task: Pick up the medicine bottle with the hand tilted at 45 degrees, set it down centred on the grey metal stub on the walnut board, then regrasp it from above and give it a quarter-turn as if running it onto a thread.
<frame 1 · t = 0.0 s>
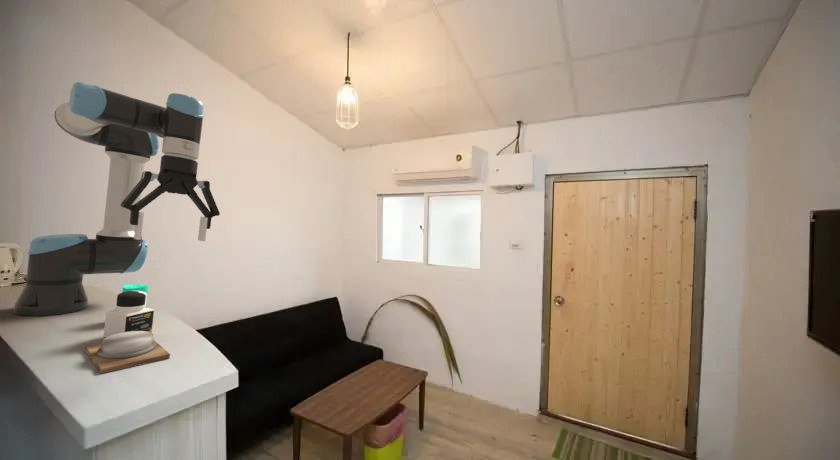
hand: (171, 240, 81), 28 cm above the worktop, tool pointing down, fingers open, 13 cm apart
candle: (132, 320, 98), on the worktop
stub board: (127, 353, 77), on the worktop
medicine bottle: (128, 336, 87), on the worktop
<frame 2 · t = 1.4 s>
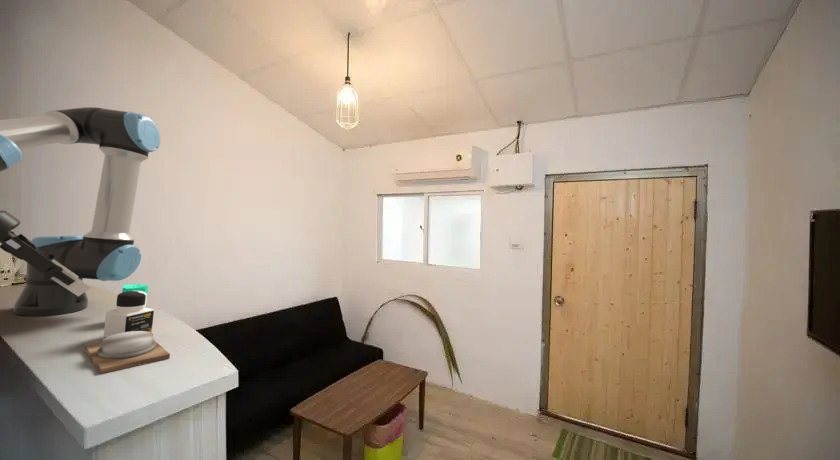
hand: (78, 285, 78), 15 cm above the worktop, tool tilted 45°, fingers open, 13 cm apart
nothing on the worktop moved.
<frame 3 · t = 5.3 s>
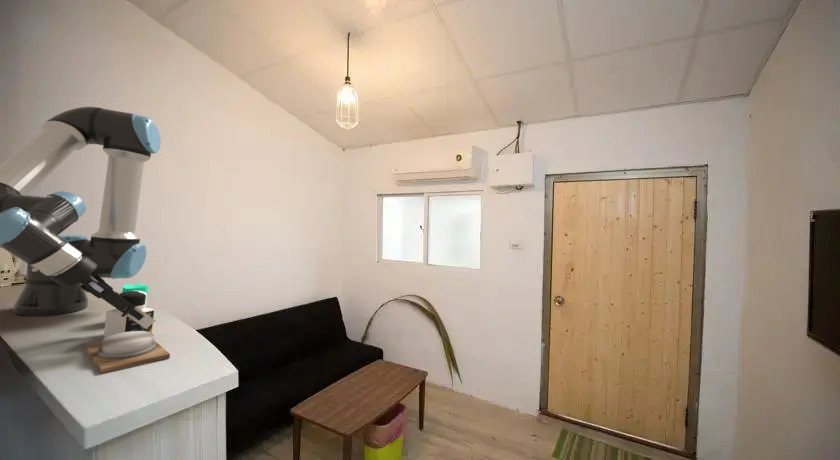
hand: (144, 319, 89), 4 cm above the worktop, tool tilted 45°, fingers closed on medicine bottle, 9 cm apart
medicine bottle: (128, 336, 87), on the worktop, touching gripper
everything else where it was.
when the fingers open (9 cm above the worktop, at t = 9.1 s): medicine bottle drops 1 cm, resting on stub board.
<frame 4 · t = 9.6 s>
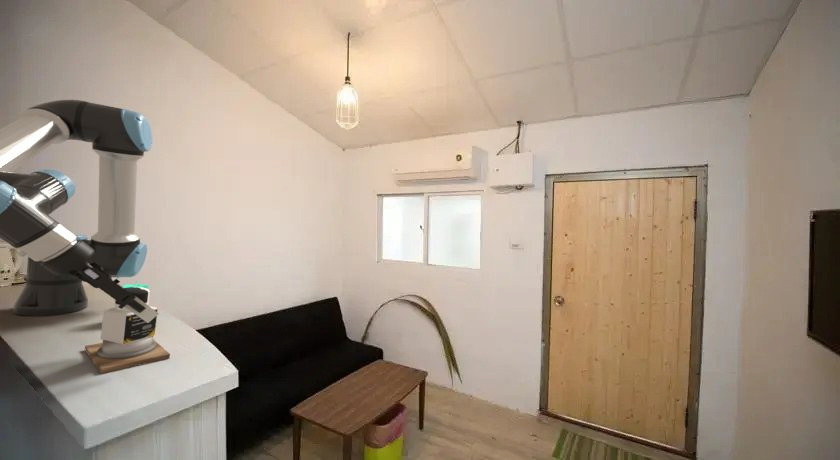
hand: (144, 310, 78), 10 cm above the worktop, tool tilted 45°, fingers open, 13 cm apart
medicine bottle: (128, 338, 76), point 4 cm above the worktop, touching stub board
everything else where it was.
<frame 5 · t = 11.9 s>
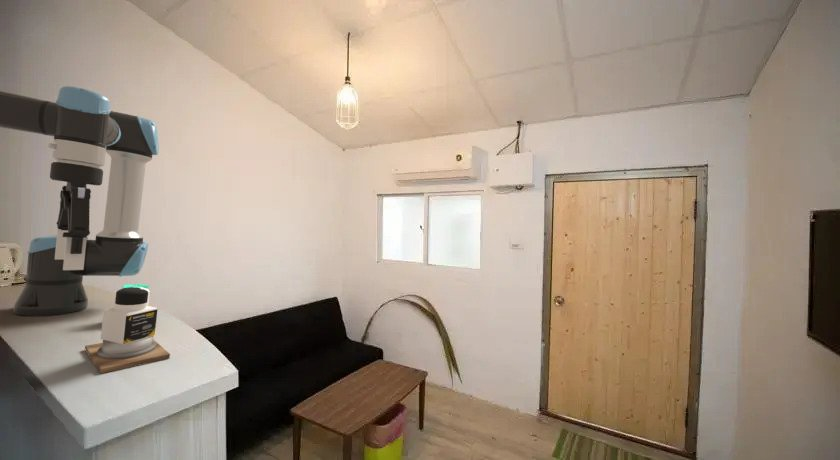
hand: (68, 264, 67), 22 cm above the worktop, tool pointing down, fingers open, 13 cm apart
nothing on the worktop moved.
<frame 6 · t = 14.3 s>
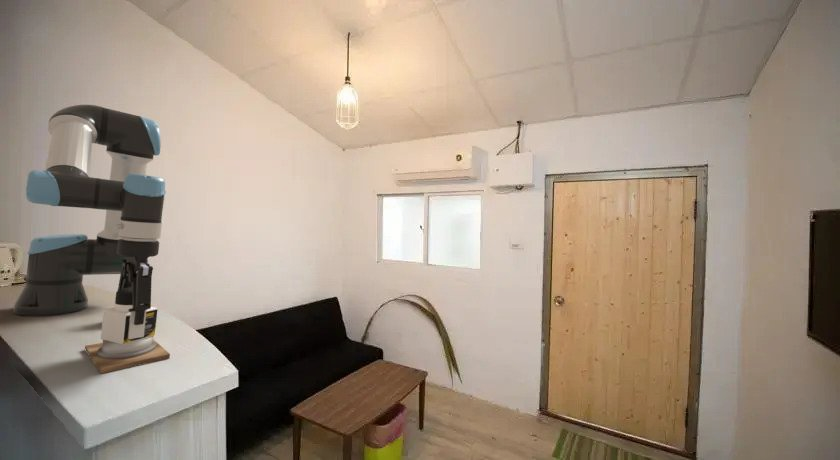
hand: (129, 331, 77), 5 cm above the worktop, tool pointing down, fingers closed on medicine bottle, 9 cm apart
medicine bottle: (128, 338, 76), point 4 cm above the worktop, touching gripper, stub board
everything else where it was.
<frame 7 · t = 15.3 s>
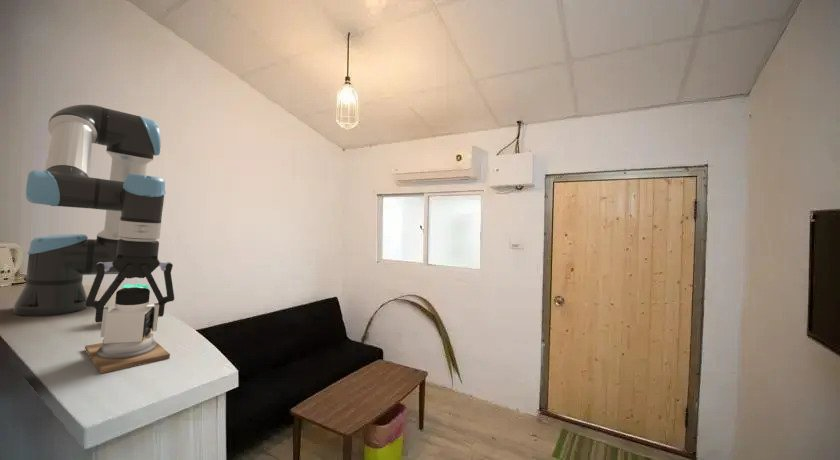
hand: (129, 332, 77), 5 cm above the worktop, tool pointing down, fingers closed on medicine bottle, 8 cm apart
medicine bottle: (128, 338, 77), point 4 cm above the worktop, touching gripper, stub board
everything else where it was.
when the fingers open (5 cm above the worktop, at t = 15.5 s): medicine bottle stays where it is, resting on stub board.
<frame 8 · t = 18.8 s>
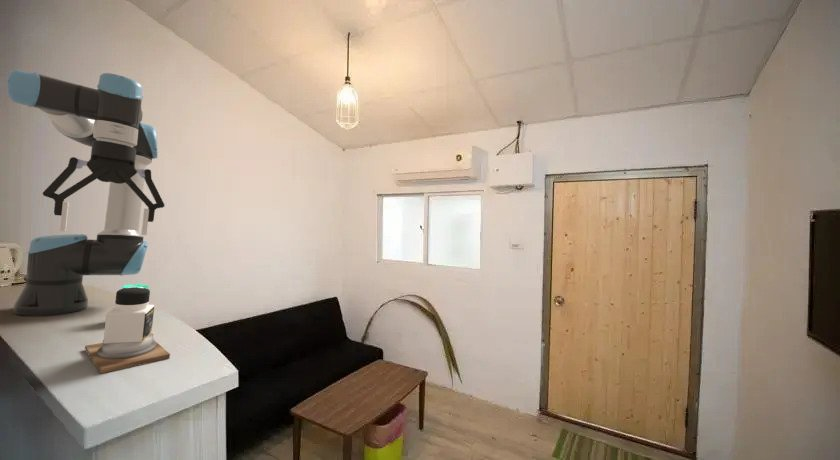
hand: (106, 233, 75), 29 cm above the worktop, tool pointing down, fingers open, 13 cm apart
medicine bottle: (128, 338, 77), point 4 cm above the worktop, touching stub board
everything else where it was.
at the end: medicine bottle 0.1 cm from the stub board (horizontally); medicine bottle point 3.8 cm above the worktop; medicine bottle tilted 0° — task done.
